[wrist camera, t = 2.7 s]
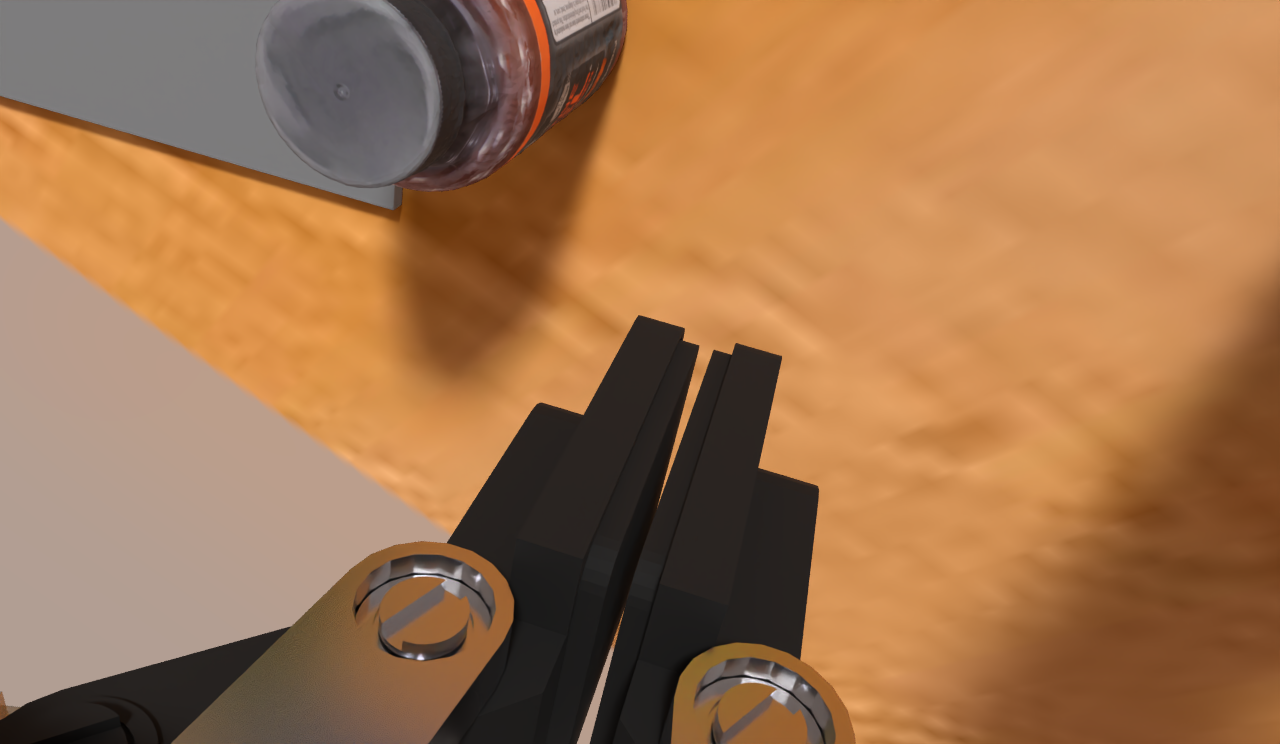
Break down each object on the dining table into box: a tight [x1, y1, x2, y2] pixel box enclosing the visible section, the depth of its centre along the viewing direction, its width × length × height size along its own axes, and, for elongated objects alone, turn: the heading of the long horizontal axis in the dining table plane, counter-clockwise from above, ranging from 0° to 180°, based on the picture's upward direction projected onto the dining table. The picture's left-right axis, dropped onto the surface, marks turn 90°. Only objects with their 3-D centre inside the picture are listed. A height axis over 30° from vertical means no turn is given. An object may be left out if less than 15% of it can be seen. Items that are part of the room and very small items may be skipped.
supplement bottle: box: [255, 0, 627, 192], centre depth 23 cm, size 6×6×11 cm
